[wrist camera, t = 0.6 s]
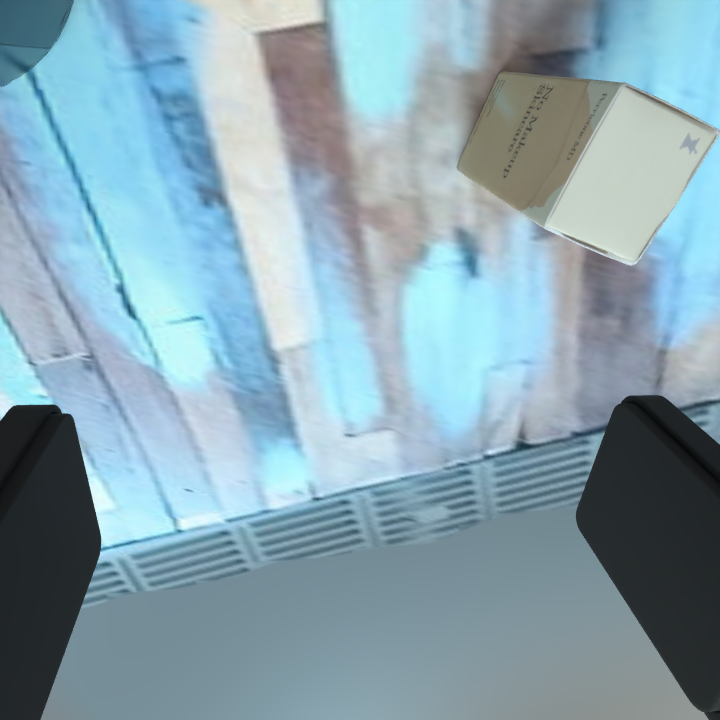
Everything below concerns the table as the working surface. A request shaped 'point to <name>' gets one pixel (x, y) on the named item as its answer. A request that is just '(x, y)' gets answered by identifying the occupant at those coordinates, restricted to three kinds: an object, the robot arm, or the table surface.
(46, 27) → the pot
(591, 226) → the box
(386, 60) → the table surface
